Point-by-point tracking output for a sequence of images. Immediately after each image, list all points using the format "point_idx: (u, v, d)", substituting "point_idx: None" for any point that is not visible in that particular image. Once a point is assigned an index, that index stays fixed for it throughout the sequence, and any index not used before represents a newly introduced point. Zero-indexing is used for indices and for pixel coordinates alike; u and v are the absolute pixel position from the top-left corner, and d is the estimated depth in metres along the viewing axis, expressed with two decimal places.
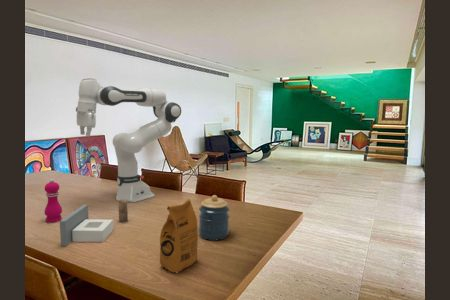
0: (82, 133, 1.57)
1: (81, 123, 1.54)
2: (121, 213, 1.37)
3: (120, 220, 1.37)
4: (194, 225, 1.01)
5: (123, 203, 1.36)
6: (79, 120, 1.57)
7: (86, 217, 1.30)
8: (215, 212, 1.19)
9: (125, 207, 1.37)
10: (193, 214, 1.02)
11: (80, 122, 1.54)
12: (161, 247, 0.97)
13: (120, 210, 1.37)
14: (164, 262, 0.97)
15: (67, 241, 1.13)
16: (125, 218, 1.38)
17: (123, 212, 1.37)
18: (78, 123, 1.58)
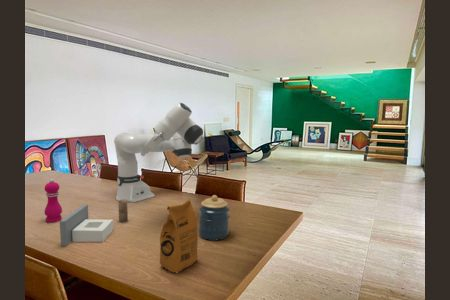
0: None
1: None
2: (121, 213, 1.37)
3: (120, 220, 1.37)
4: (194, 225, 1.01)
5: (123, 203, 1.36)
6: None
7: (86, 217, 1.30)
8: (215, 212, 1.19)
9: (125, 207, 1.37)
10: (193, 214, 1.02)
11: None
12: (161, 247, 0.97)
13: (120, 210, 1.37)
14: (164, 262, 0.97)
15: (67, 241, 1.13)
16: (125, 218, 1.38)
17: (123, 212, 1.37)
18: None
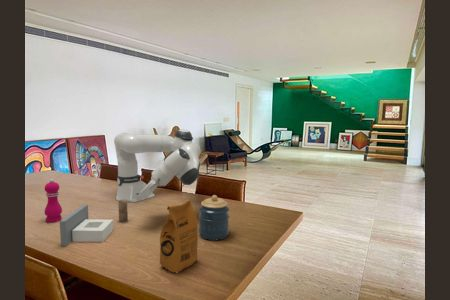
0: None
1: (147, 184, 1.38)
2: (121, 213, 1.37)
3: (120, 220, 1.37)
4: (194, 225, 1.01)
5: (123, 203, 1.36)
6: None
7: (86, 217, 1.30)
8: (215, 212, 1.19)
9: (125, 207, 1.37)
10: (193, 214, 1.02)
11: (148, 183, 1.39)
12: (161, 247, 0.97)
13: (120, 210, 1.37)
14: (164, 262, 0.97)
15: (67, 241, 1.13)
16: (125, 218, 1.38)
17: (123, 212, 1.37)
18: None
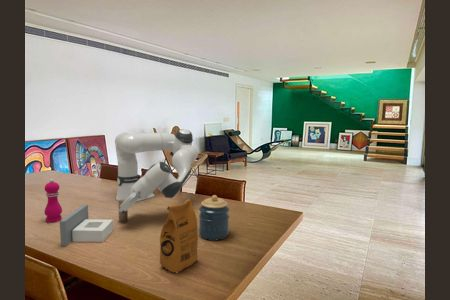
0: None
1: None
2: (121, 213, 1.37)
3: (120, 220, 1.37)
4: (194, 225, 1.01)
5: None
6: None
7: (86, 217, 1.30)
8: (215, 212, 1.19)
9: None
10: (193, 214, 1.02)
11: None
12: (161, 247, 0.97)
13: None
14: (164, 262, 0.97)
15: (67, 241, 1.13)
16: (125, 218, 1.38)
17: (123, 212, 1.37)
18: None
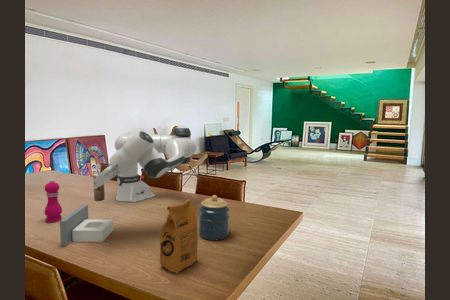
0: None
1: None
2: (97, 190, 1.19)
3: (96, 198, 1.20)
4: (194, 225, 1.01)
5: None
6: None
7: (86, 217, 1.30)
8: (215, 212, 1.19)
9: None
10: (193, 214, 1.02)
11: None
12: (161, 247, 0.97)
13: None
14: (164, 262, 0.97)
15: (67, 241, 1.13)
16: (101, 196, 1.21)
17: (99, 189, 1.20)
18: None
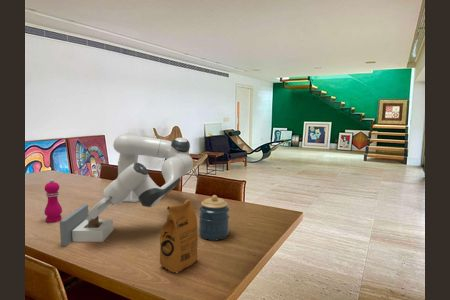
0: None
1: None
2: (91, 225, 1.20)
3: None
4: (194, 225, 1.01)
5: None
6: None
7: (86, 217, 1.30)
8: (215, 212, 1.19)
9: (95, 218, 1.21)
10: (193, 214, 1.02)
11: None
12: (161, 247, 0.97)
13: (90, 222, 1.20)
14: (164, 262, 0.97)
15: (67, 241, 1.13)
16: None
17: (93, 223, 1.20)
18: None
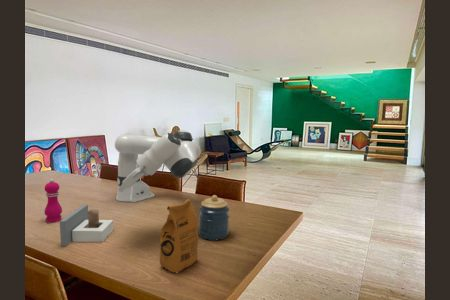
0: None
1: None
2: (91, 226, 1.20)
3: None
4: (194, 225, 1.01)
5: (93, 214, 1.20)
6: None
7: (86, 217, 1.30)
8: (215, 212, 1.19)
9: (96, 218, 1.21)
10: (193, 214, 1.02)
11: None
12: (161, 247, 0.97)
13: (90, 222, 1.20)
14: (164, 262, 0.97)
15: (67, 241, 1.13)
16: None
17: (93, 224, 1.20)
18: None
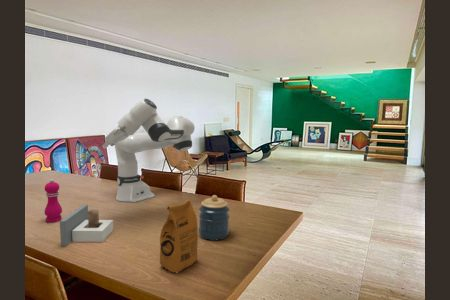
0: (111, 144, 1.42)
1: None
2: (91, 226, 1.20)
3: None
4: (194, 225, 1.01)
5: (93, 214, 1.20)
6: None
7: (86, 217, 1.30)
8: (215, 212, 1.19)
9: (96, 219, 1.21)
10: (193, 214, 1.02)
11: None
12: (161, 247, 0.97)
13: (90, 222, 1.20)
14: (164, 262, 0.97)
15: (67, 241, 1.13)
16: None
17: (93, 224, 1.20)
18: None
